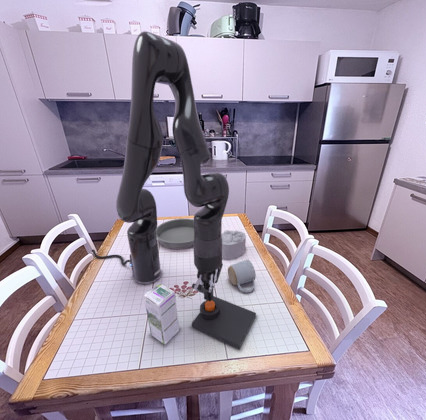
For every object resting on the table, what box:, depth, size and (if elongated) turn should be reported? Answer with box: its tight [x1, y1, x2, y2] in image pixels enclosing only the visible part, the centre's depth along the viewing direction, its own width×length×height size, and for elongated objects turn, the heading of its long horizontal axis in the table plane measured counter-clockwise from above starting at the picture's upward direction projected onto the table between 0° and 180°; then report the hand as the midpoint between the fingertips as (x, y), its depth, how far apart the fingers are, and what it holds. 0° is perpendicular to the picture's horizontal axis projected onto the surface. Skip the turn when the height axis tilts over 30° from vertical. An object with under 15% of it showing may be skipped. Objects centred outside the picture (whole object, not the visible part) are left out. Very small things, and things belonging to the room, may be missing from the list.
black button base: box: [191, 295, 257, 350], centre depth 69 cm, size 16×12×4 cm
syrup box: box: [143, 283, 180, 346], centre depth 63 cm, size 6×6×14 cm
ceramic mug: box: [227, 259, 257, 294], centre depth 83 cm, size 11×8×8 cm
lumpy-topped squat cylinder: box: [221, 229, 247, 261], centre depth 103 cm, size 10×13×9 cm
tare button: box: [205, 301, 215, 312], centre depth 70 cm, size 3×3×2 cm
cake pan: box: [156, 218, 194, 250], centre depth 114 cm, size 25×25×4 cm
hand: (208, 299), depth 69 cm, fingers closed
